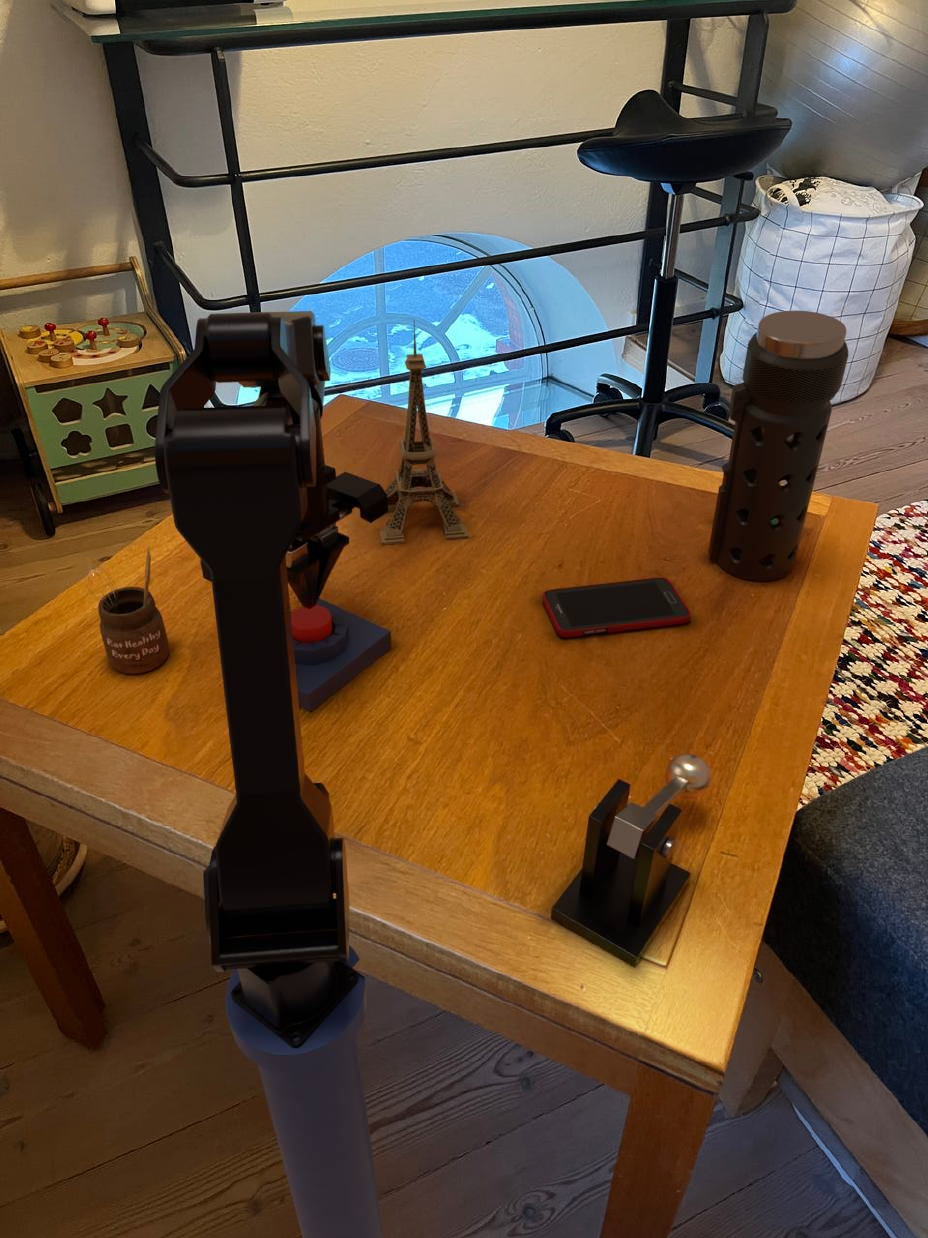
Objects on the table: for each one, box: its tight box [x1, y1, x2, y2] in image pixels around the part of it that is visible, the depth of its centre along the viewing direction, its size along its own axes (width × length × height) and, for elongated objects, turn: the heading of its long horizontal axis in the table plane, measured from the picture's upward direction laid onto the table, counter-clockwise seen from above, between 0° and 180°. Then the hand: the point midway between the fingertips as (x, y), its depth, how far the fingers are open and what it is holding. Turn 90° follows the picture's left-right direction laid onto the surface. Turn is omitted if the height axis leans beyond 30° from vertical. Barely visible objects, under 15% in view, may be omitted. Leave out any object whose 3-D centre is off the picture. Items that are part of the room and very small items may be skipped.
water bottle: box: [707, 310, 849, 582], centre depth 97 cm, size 10×28×10 cm
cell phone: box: [541, 576, 692, 638], centre depth 98 cm, size 8×15×1 cm, turn 101°
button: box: [291, 605, 332, 643], centre depth 89 cm, size 4×4×2 cm
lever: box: [607, 752, 713, 859], centre depth 69 cm, size 14×4×4 cm, turn 144°
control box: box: [291, 597, 392, 712], centre depth 91 cm, size 12×10×4 cm
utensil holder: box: [84, 546, 170, 675], centre depth 89 cm, size 6×6×12 cm
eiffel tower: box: [379, 321, 470, 546], centre depth 107 cm, size 11×11×25 cm
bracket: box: [550, 778, 692, 968], centre depth 66 cm, size 9×7×10 cm
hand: (308, 606), depth 88 cm, fingers closed
